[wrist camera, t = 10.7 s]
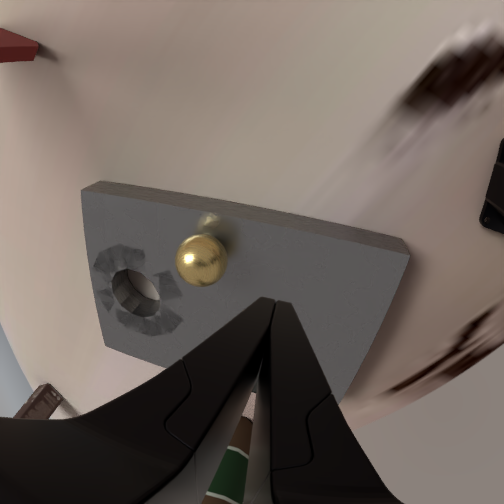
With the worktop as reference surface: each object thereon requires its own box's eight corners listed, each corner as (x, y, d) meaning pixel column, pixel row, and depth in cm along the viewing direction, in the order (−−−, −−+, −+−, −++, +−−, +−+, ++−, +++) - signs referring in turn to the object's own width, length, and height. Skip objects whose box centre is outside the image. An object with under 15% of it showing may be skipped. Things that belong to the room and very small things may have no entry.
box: (47, 381, 42) (12, 427, 32) (64, 398, 44) (32, 445, 33) (37, 384, 45) (5, 425, 34) (53, 400, 46) (23, 442, 36)
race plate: (401, 238, 20) (410, 255, 18) (337, 387, 27) (336, 407, 25) (100, 180, 22) (80, 190, 20) (117, 330, 30) (105, 345, 28)
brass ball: (236, 231, 19) (221, 255, 16) (231, 275, 21) (216, 303, 18) (187, 221, 20) (165, 242, 17) (186, 264, 21) (166, 289, 18)
